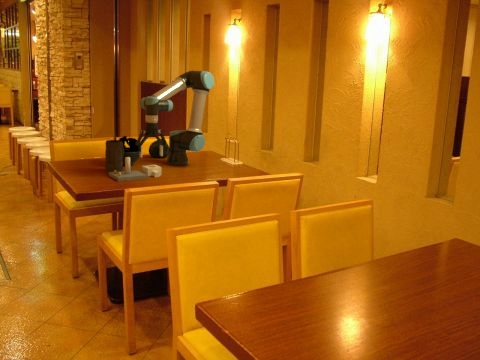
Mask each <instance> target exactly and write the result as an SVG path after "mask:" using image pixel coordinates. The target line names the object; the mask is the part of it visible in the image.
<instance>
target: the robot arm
mask: <svg viewBox="0 0 480 360" xmlns="http://www.w3.org/2000/svg"><path fill="white" fill-rule="evenodd" d="M214 87H215V77H214V75H213V74H212V73H211V72H209V71H206V70H188V71H185V72H184V73H182V74H181V75H178V76H176V78H175V79H174V80H173V81H172V82H171V83H168V84H167V85H166V86H164V87H163V88H161V89H160V90H158V91H156V92H155V93H153V94H152V95H150V96H149V95H148V96H146V97H142V98H141V99H140V102H139V105H140V108H141V109H143V110H145V116H144V117H145V123H144V124H145V130H142V129H141V130H139V131H140V132H139V135H138V137H137V138H136V140H137V141H136V143H135V145H137V146H138V151H139V152H140V155H139V158H143V149H144V148H143V144H144V143H145V142H146V141H147V139H149V138H155V139H156V140H158V141H159V143H160V144H161V145H160V156H163V151H164V146H165V145H166V144H168V146H169V155H168V156H167V157H166V164H167V165H171V166H183V165H184V166H185V165H188V164H189V157H188V155H187V151H188V152H189V151H190V152H192V153H194V152H195V153H197V152H200V151H201V150H203V149H204V147H205V145H206V144H205V143H206V139H205V137H204V133H203V131H202V125H203V120H204V112H205V107H206V101H207V100H206V99H207V95H208V94H209V93H210V90H212V89H213V88H214ZM186 89H191V91H192V92H193V97H192V104H191V108H190V109H191V110H190V115H189V121H188V122H189V123H188V128H187V129H181V130H180V129H179V130H171V131H170V132H169V136H168V137H169V138H168V140H169V141H168V142H169V143H168V142H167V140H166V137H165V135H164V133H163V129H159V123H158V122H159V113H167V112H171V111H172V110H173V108H174V103H173V101H172V100H171V99H170V98H172V97H173V96H175V95H176V94H178V93H179V92H181V91H185V90H186ZM144 134H145V135H144ZM159 136H160V137H159ZM161 139H162V140H161ZM162 141H163V142H162Z"/></svg>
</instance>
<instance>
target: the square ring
mask: <svg viewBox="0 0 480 360" xmlns="http://www.w3.org/2000/svg"><path fill="white" fill-rule="evenodd" d="M141 172H142V173H144V174H146V175H147V177H153V176H154V178H160V176H162V166H160V165H157V164H145V165H141Z"/></svg>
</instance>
